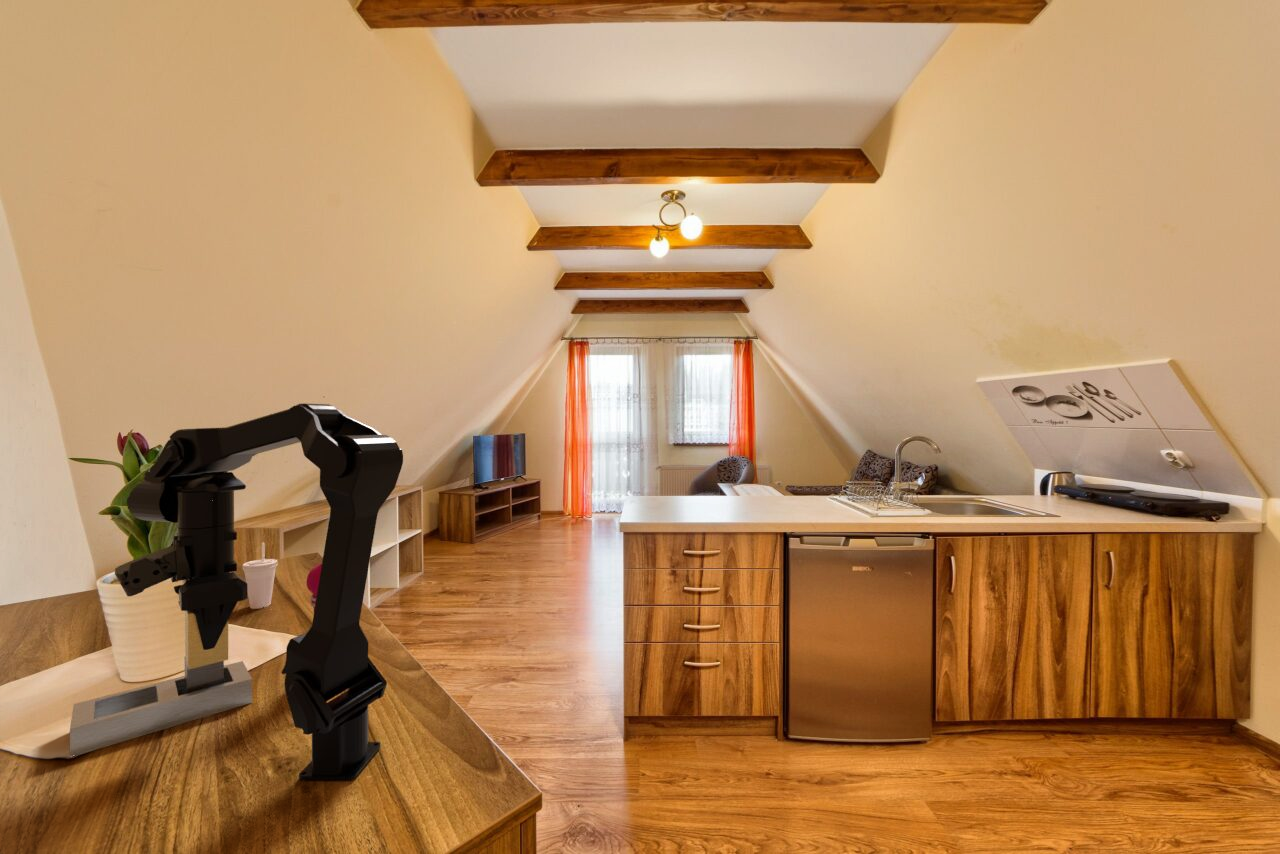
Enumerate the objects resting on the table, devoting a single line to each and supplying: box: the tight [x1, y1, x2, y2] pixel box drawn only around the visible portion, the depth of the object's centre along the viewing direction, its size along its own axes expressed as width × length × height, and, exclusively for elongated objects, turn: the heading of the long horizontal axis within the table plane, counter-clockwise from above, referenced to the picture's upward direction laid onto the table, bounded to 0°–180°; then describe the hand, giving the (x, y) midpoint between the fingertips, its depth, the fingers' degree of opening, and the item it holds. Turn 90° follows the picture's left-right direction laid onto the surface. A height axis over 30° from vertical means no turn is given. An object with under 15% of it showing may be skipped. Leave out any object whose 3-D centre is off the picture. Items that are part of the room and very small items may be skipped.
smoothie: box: [242, 541, 279, 610], centre depth 118 cm, size 6×6×14 cm
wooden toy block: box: [184, 611, 229, 670], centre depth 69 cm, size 4×4×7 cm
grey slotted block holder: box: [69, 659, 253, 757], centre depth 73 cm, size 18×8×7 cm, turn 135°
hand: (207, 643), depth 69 cm, fingers closed on wooden toy block, 4 cm apart
